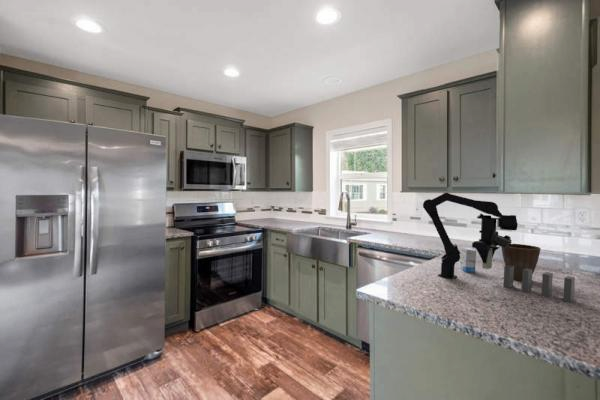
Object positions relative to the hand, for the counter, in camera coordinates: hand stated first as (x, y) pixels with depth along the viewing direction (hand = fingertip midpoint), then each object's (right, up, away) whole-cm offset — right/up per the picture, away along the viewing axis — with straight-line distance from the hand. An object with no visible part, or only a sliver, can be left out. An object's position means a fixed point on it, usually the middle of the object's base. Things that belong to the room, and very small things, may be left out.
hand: (487, 262), depth 130 cm
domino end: (+16, -10, -23) cm, 29 cm away
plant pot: (+19, -9, +5) cm, 21 cm away
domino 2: (+9, -9, -12) cm, 17 cm away
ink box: (+2, -9, +19) cm, 21 cm away
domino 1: (+5, -9, -7) cm, 12 cm away
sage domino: (0, -3, 0) cm, 2 cm away
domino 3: (+12, -10, -17) cm, 23 cm away
